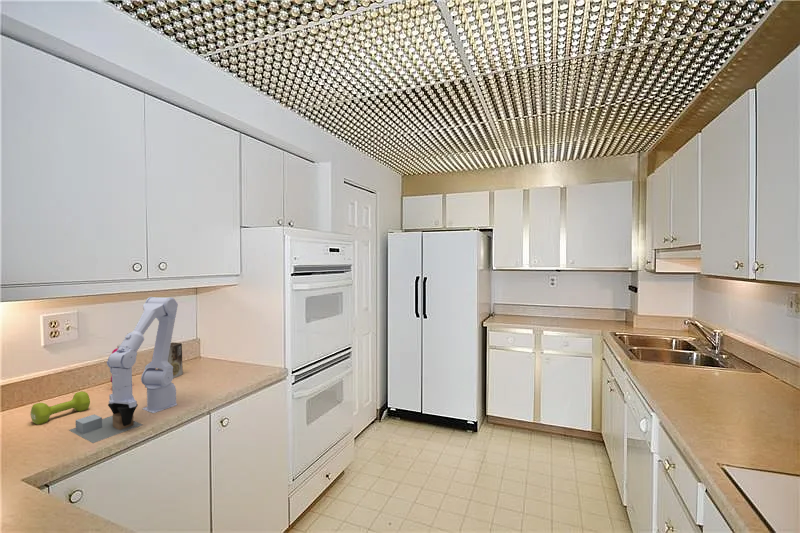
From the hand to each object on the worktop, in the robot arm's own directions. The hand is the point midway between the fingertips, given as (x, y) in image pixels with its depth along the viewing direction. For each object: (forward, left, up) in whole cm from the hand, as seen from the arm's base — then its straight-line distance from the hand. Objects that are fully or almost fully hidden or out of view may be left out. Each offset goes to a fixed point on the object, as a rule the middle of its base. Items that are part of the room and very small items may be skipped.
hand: (123, 423), depth 135 cm
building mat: (+4, -4, -1) cm, 5 cm away
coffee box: (-39, -40, -2) cm, 56 cm away
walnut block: (0, 0, -1) cm, 1 cm away
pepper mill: (-19, -44, -2) cm, 48 cm away
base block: (+7, -8, -1) cm, 11 cm away
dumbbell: (+7, -30, -2) cm, 31 cm away
